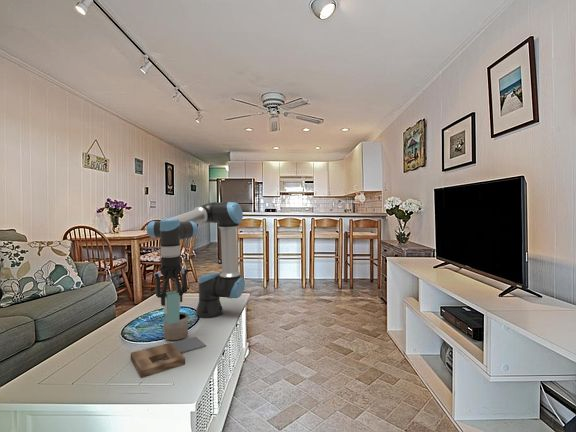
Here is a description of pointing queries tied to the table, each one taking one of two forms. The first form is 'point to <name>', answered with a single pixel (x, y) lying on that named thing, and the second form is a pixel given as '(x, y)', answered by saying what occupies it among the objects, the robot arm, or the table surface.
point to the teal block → (172, 307)
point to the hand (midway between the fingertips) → (172, 311)
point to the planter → (176, 328)
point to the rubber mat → (188, 344)
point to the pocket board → (156, 359)
